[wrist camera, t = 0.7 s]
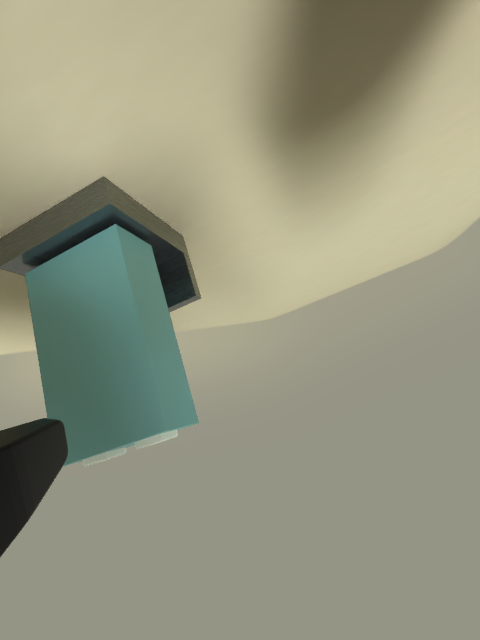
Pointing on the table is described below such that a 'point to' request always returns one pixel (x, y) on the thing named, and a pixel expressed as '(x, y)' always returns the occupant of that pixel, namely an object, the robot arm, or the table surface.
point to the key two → (108, 347)
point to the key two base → (92, 218)
